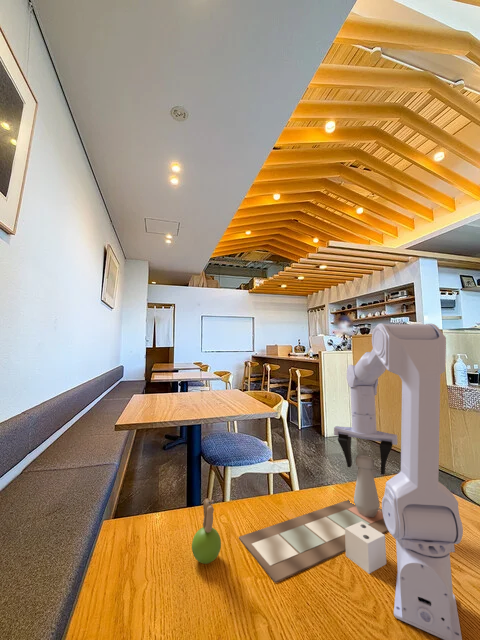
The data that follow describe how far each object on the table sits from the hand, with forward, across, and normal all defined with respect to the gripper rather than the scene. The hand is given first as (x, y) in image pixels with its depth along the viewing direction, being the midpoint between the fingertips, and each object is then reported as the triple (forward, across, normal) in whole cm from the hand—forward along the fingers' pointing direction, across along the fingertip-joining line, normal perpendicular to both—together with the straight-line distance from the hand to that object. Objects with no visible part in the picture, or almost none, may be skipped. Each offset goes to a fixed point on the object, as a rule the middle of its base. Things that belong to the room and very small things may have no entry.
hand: (365, 469), depth 68 cm
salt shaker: (+10, 0, 0) cm, 10 cm away
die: (+10, -2, +17) cm, 20 cm away
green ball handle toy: (+11, +23, +34) cm, 42 cm away
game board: (+10, +7, +12) cm, 17 cm away
